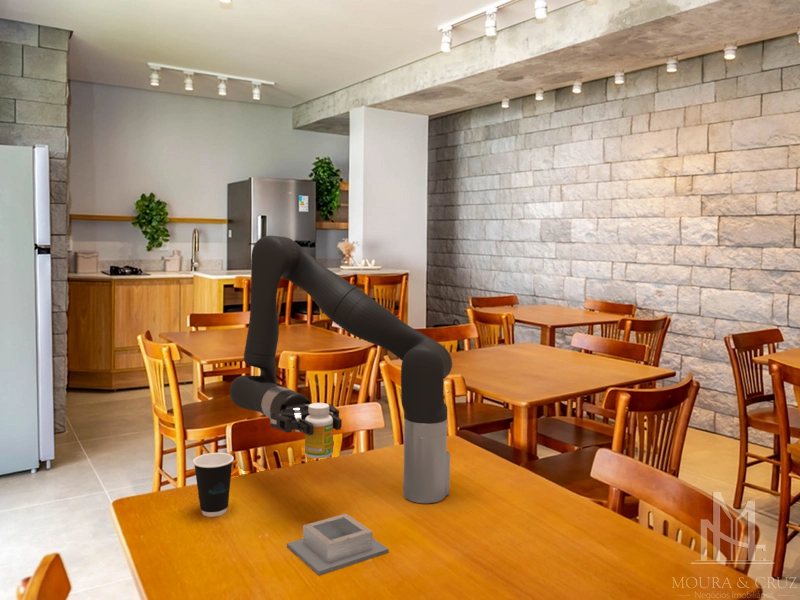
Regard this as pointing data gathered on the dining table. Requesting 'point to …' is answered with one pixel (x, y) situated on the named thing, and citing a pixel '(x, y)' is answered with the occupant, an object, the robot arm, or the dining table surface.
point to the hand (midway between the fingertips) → (325, 427)
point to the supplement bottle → (319, 432)
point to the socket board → (336, 544)
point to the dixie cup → (213, 482)
